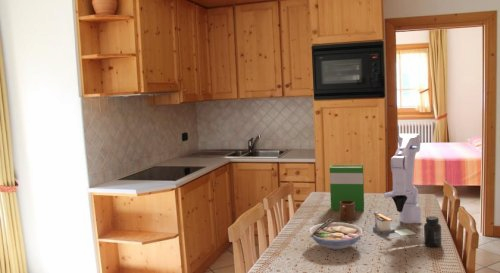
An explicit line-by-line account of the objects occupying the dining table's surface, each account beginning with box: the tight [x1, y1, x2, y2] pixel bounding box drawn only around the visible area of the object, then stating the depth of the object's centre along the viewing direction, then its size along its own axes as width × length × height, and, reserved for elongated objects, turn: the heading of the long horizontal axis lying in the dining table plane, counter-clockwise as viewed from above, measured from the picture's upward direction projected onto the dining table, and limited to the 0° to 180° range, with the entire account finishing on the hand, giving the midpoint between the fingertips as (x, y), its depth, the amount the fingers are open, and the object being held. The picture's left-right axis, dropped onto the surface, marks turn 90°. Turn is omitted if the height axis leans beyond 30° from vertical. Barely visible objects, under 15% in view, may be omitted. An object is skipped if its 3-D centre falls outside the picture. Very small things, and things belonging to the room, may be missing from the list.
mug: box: [339, 200, 356, 223], centre depth 228 cm, size 12×8×9 cm, turn 149°
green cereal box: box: [329, 164, 365, 212], centre depth 249 cm, size 18×7×24 cm, turn 74°
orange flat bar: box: [373, 211, 393, 222], centre depth 209 cm, size 3×13×1 cm, turn 15°
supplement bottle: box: [423, 215, 443, 248], centre depth 190 cm, size 7×7×12 cm
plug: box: [377, 217, 391, 231], centre depth 209 cm, size 4×4×6 cm
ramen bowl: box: [308, 218, 364, 251], centre depth 194 cm, size 25×23×8 cm
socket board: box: [362, 215, 417, 241], centre depth 209 cm, size 18×18×7 cm
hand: (399, 211), depth 206 cm, fingers closed
